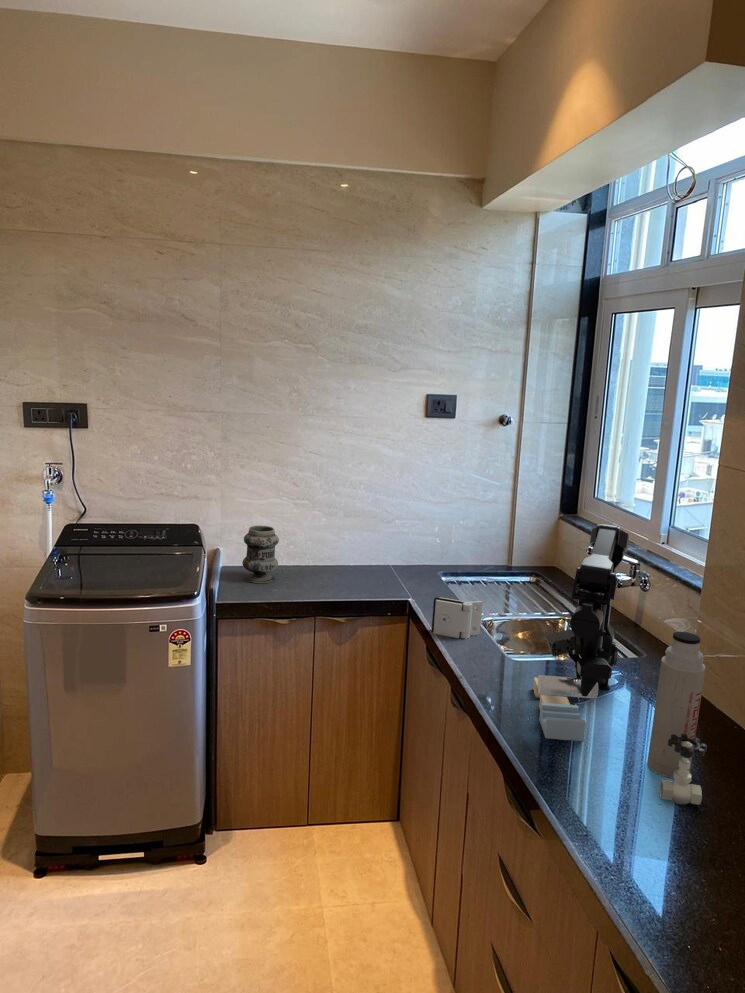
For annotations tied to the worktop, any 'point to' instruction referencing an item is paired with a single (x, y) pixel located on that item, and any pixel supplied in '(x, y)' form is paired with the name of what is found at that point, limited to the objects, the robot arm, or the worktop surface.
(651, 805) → the worktop surface
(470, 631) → the hinge
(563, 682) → the light grey bar
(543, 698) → the beam
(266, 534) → the apothecary jar
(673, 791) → the valve
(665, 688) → the thermos bottle
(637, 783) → the worktop surface
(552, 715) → the v block
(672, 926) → the worktop surface
